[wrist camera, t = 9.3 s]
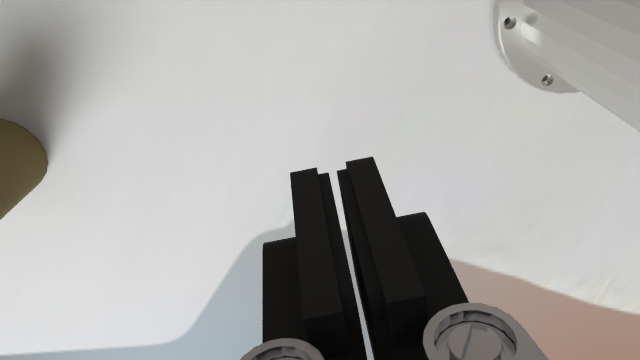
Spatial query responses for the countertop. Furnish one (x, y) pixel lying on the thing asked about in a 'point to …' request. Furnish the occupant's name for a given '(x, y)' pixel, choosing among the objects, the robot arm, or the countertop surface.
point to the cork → (18, 164)
